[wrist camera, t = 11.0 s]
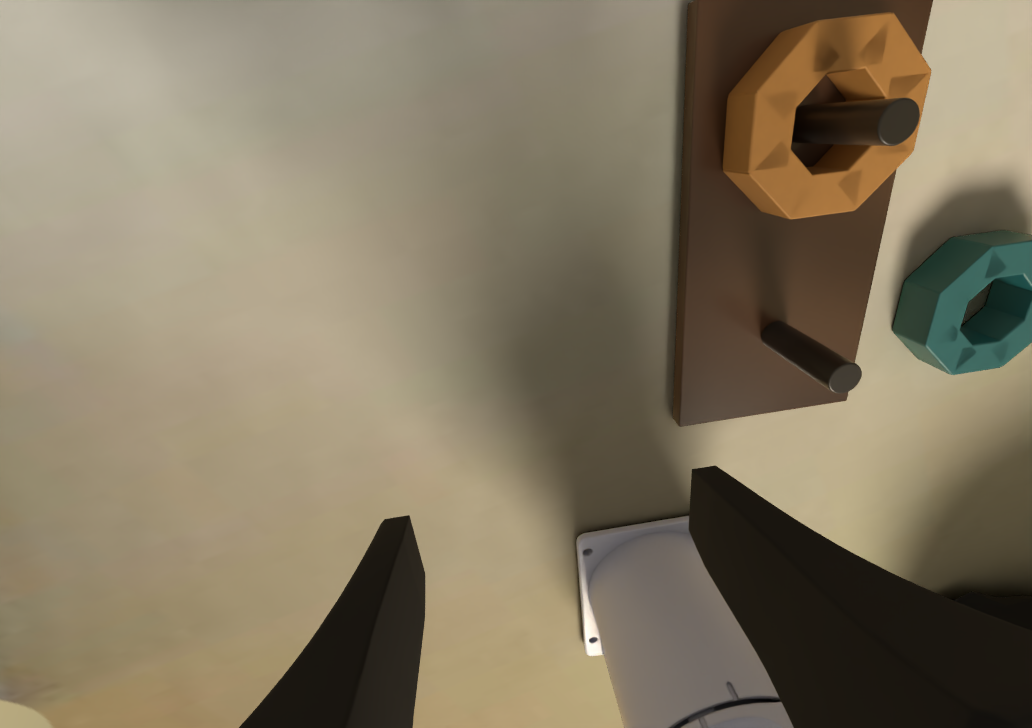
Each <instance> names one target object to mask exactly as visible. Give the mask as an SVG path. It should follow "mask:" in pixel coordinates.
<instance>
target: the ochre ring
mask: <svg viewBox="0 0 1032 728" xmlns="http://www.w3.org/2000/svg"><path fill="white" fill-rule="evenodd" d="M825 75H827V76H828V77H829V79H830V80H831V81H832V83H833V84H834V85H835V86H836V88H837V89H838V90H839V92H840V93H841V94H842V96H843V97H844V98H845V100H846V101H845V102H852V101H865V100H879V99H892V98H910V99H912V100H914V101H915V102H916V103H917V105H918V107H919V110H920V118H919V122H918V125H917V127H916V129H915V131H914V132H913V134H912V135H911V136H910V137H909V138H908V139H907V140H905V141H904V142H902V143H900V144H898V145H895V146H870V145H841V144H834V145H833V146H832V147H831V148H830V149H829V150H828V151H827V152H826V154H825V155H824V156H823V157H822V158H821V159H820V160H819V161H818V162H817V163H816V164H815V165H814V166H813V167H805V166H804V164H803V163H802V162H801V161H800V160H799V159H798V157H797V156H796V155H795V154H794V153H793V152H792V150H791V144H792V136H793V128H794V120H795V112H796V107H797V106H798V105H799V104H800V103H801V102H802V101H803V100H804V98H805V97H806V96H807V95H808V94H809V93H810V92H811V91H812V89H813V88H814V87H815V86H816V85H817V84H818V83H819V81H820V80H821V79H822V78H823V77H824V76H825ZM930 76H931V69H930V67H929V66H928V64H927V63H926V61H925V60H924V58H923V57H922V55H921V54H920V52H919V51H918V49H917V47H916V46H915V44H914V43H913V41H912V40H911V38H910V37H909V35H908V34H907V32H906V31H905V29H904V28H903V26H902V25H901V23H900V22H899V20H898V18H897V17H896V15H895V14H894V13H891V12H886V13H877V14H868V15H860V16H851V17H842V18H834V19H825V20H817V21H814V22H811V23H807V24H804V25H801V26H798V27H794V28H791V29H788V30H785V31H783V32H781V33H780V34H779V35H778V36H777V37H776V38H775V40H774V41H773V42H772V43H771V44H770V46H769V47H768V48H767V49H766V50H765V52H764V53H763V54H762V55H761V56H760V57H759V59H758V60H757V61H756V62H755V63H754V65H753V66H752V67H751V68H750V69H749V71H748V72H747V73H746V74H745V75H744V77H743V78H742V79H741V80H740V81H739V83H738V84H737V85H736V86H735V87H734V89H733V90H732V91H731V92H730V93H729V95H728V99H727V112H726V127H725V141H724V155H723V172H724V173H725V174H726V175H727V176H728V177H729V178H730V179H731V180H732V181H733V182H734V183H735V184H736V186H737V187H738V188H739V189H740V190H741V191H742V192H743V193H744V194H745V195H746V196H747V197H748V198H749V199H750V200H751V201H752V202H753V203H754V204H755V206H756V207H757V208H758V209H759V210H760V211H761V212H765V213H768V214H772V215H776V216H780V217H784V218H787V219H798V218H806V217H813V216H820V215H828V214H835V213H842V212H850V211H855V210H856V209H857V208H858V207H859V206H860V205H861V204H862V203H863V202H864V201H865V200H866V199H867V198H868V197H869V196H870V195H871V194H872V193H873V192H874V191H875V190H876V189H877V188H878V187H879V186H880V185H881V184H882V183H883V182H884V181H885V180H886V179H887V178H888V177H889V176H890V175H891V174H892V173H893V172H894V171H895V170H896V169H897V168H898V167H899V166H900V165H901V164H902V163H903V162H904V161H905V160H906V159H907V158H908V157H909V156H910V155H911V153H912V152H913V150H914V146H915V142H916V137H917V133H918V128H919V124H920V120H921V115H922V111H923V106H924V102H925V98H926V93H927V89H928V84H929V80H930Z"/></svg>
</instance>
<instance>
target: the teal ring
mask: <svg viewBox="0 0 1032 728" xmlns="http://www.w3.org/2000/svg"><path fill="white" fill-rule="evenodd" d="M992 281H993V283H992V286H991V290H990V293H989V296H988V299H987V302H986V305H985V307H984V308H982V309H981V310H980V311H979V312H978V313H977V314H976V315H974V316H973V317H972V318H971V319H970V320H969V321H968V322H966V323H965V324H964V325H963V326H962V327H961V324H962V321H963V318H964V314H965V311H966V308H967V305H968V302H969V301H970V300H971V299H972V298H974V297H975V296H976V295H977V294H978V293H979V292H980V291H981V290H983V289H984V288H985V287H986V286H987V285H988V284H989V283H991V282H992ZM892 331H893V332H894V334H895V335H896V336H897V337H898V338H899V339H900V340H901V341H902V342H903V343H904V344H905V345H906V347H907V348H908V349H909V350H910V351H911V352H912V353H913V354H914V355H915V356H916V357H917V358H918V359H919V360H922V361H924V362H926V363H928V364H930V365H932V366H934V367H936V368H938V369H940V370H942V371H944V372H946V373H948V374H951V375H956V374H962V373H968V372H975V371H981V370H988V369H994V368H1000V367H1002V366H1004V365H1005V364H1006V363H1007V362H1009V361H1010V360H1011V359H1012V358H1013V357H1015V356H1016V355H1017V354H1018V353H1020V352H1021V351H1022V350H1023V349H1024V348H1026V347H1027V346H1028V345H1029V344H1030V343H1032V235H1028V234H1023V233H1017V232H1011V231H1006V230H1000V231H993V232H986V233H979V234H972V235H965V236H958V237H952V238H950V239H949V240H948V241H947V242H946V243H944V244H943V245H942V246H941V247H940V248H939V249H938V250H937V251H936V252H935V253H934V254H933V255H932V256H931V257H929V258H928V259H927V260H926V261H925V262H924V263H923V264H922V265H921V266H920V267H919V268H918V269H917V270H915V271H914V272H913V273H912V274H911V275H910V276H909V277H908V278H907V279H906V280H905V282H904V284H903V288H902V292H901V296H900V301H899V305H898V309H897V313H896V317H895V321H894V325H893V329H892Z"/></svg>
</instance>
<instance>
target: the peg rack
mask: <svg viewBox="0 0 1032 728" xmlns="http://www.w3.org/2000/svg"><path fill="white" fill-rule="evenodd" d="M932 3H933V0H694V1H693V2H691V3H689V4H688V18H687V45H686V73H685V100H684V127H683V154H682V182H681V209H680V236H679V263H678V291H677V318H676V345H675V372H674V400H673V419H674V420H675V422H676V423H677V424H678V426H680V427H682V426H688V425H694V424H701V423H707V422H713V421H720V420H726V419H732V418H739V417H745V416H751V415H758V414H764V413H770V412H777V411H783V410H790V409H796V408H802V407H809V406H815V405H821V404H828V403H834V402H840V401H846V400H847V395H848V391H850V390H852V389H853V388H854V387H855V386H856V385H857V384H858V383H859V381H860V379H861V375H862V372H861V369H860V367H859V366H858V365H857V364H855V359H856V354H857V349H858V345H859V340H860V335H861V331H862V326H863V322H864V317H865V312H866V308H867V303H868V298H869V294H870V289H871V285H872V280H873V275H874V271H875V266H876V261H877V257H878V252H879V248H880V243H881V238H882V234H883V229H884V225H885V220H886V215H887V211H888V206H889V201H890V197H891V192H892V188H893V183H894V178H895V174H896V170H895V171H894V172H893V173H892V174H891V175H890V176H889V177H888V178H887V179H886V180H885V181H884V182H883V183H882V184H881V185H880V186H879V187H878V188H877V189H876V190H875V191H874V192H873V193H872V194H871V195H870V196H869V197H868V198H867V199H866V200H865V201H864V202H863V203H862V204H861V205H860V206H859V207H858V208H857V209H856V210H855V211H850V212H842V213H835V214H828V215H820V216H813V217H806V218H798V219H787V218H784V217H780V216H776V215H772V214H768V213H765V212H761V211H760V210H759V209H758V208H757V207H756V206H755V204H754V203H753V202H752V201H751V200H750V199H749V198H748V197H747V196H746V195H745V194H744V193H743V192H742V191H741V190H740V189H739V188H738V187H737V186H736V184H735V183H734V182H733V181H732V180H731V179H730V178H729V177H728V176H727V175H726V174H725V173H724V172H723V155H724V141H725V127H726V112H727V99H728V95H729V93H730V92H731V91H732V90H733V89H734V87H735V86H736V85H737V84H738V83H739V81H740V80H741V79H742V78H743V77H744V75H745V74H746V73H747V72H748V71H749V69H750V68H751V67H752V66H753V65H754V63H755V62H756V61H757V60H758V59H759V57H760V56H761V55H762V54H763V53H764V52H765V50H766V49H767V48H768V47H769V46H770V44H771V43H772V42H773V41H774V40H775V38H776V37H777V36H778V35H779V34H780V33H781V32H783V31H785V30H788V29H791V28H794V27H798V26H801V25H804V24H807V23H811V22H814V21H817V20H825V19H834V18H842V17H851V16H860V15H868V14H877V13H886V12H891V13H894V14H895V15H896V17H897V18H898V20H899V22H900V23H901V25H902V26H903V28H904V29H905V31H906V32H907V34H908V35H909V37H910V38H911V40H912V41H913V43H914V44H915V46H916V47H917V49H918V51H919V52H920V54H922V49H923V44H924V40H925V35H926V30H927V26H928V21H929V17H930V12H931V7H932ZM845 101H846V100H845V98H844V97H843V96H842V94H841V93H840V92H839V90H838V89H837V88H836V86H835V85H834V84H833V83H832V81H831V80H830V79H829V77H828V76H827V75H825V76H824V77H823V78H822V79H821V80H820V81H819V83H818V84H817V85H816V86H815V87H814V88H813V89H812V91H811V92H810V93H809V94H808V95H807V96H806V97H805V98H804V100H803V101H802V102H801V103H800V104H799V105H798V106H797V107H796V112H795V120H794V128H793V136H792V144H791V150H792V152H793V153H794V154H795V155H796V156H797V157H798V159H799V160H800V161H801V162H802V163H803V164H804V166H805V167H813V166H814V165H815V164H816V163H817V162H818V161H819V160H820V159H821V158H822V157H823V156H824V155H825V154H826V152H827V151H828V150H829V149H830V148H831V147H832V146H833V145H834V144H841V145H870V146H895V145H898V144H900V143H902V142H904V141H905V140H907V139H908V138H909V137H910V136H911V135H912V134H913V132H914V131H915V129H916V127H917V125H918V122H919V118H920V110H919V107H918V105H917V103H916V102H915V101H914V100H912V99H910V98H892V99H879V100H865V101H852V102H845Z"/></svg>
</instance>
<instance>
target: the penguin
mask: <svg viewBox="0 0 1032 728" xmlns="http://www.w3.org/2000/svg"><path fill="white" fill-rule="evenodd" d="M953 601H955V602H958V603H960V604H963V605H965V606H968V607H970V608H973V609H975V610H978V611H980V612H983V613H986V614H988V615H991V616H994V617H996V618H999V619H1001V620H1004V621H1007V622H1009V623H1012V624H1015V625H1017V626H1020V627H1023V628H1026V629H1029V630H1032V596H1008V597H993V596H989V595H985V594H980V593H976V592H972V591H971V592H969V593H967V594H965V595H963V596H961V597H959V598H957V599H955V600H953Z"/></svg>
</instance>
